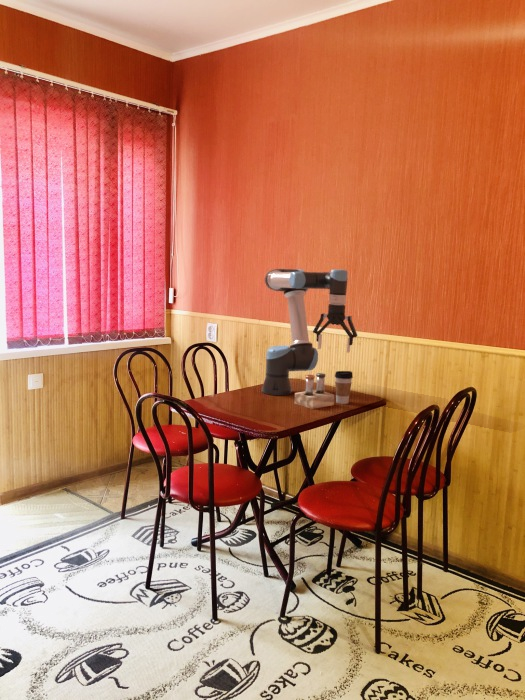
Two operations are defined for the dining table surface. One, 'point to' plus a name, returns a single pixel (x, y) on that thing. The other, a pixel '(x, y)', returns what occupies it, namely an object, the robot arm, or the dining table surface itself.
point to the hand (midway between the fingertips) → (333, 350)
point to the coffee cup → (343, 386)
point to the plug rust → (309, 384)
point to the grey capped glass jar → (320, 383)
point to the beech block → (314, 399)
